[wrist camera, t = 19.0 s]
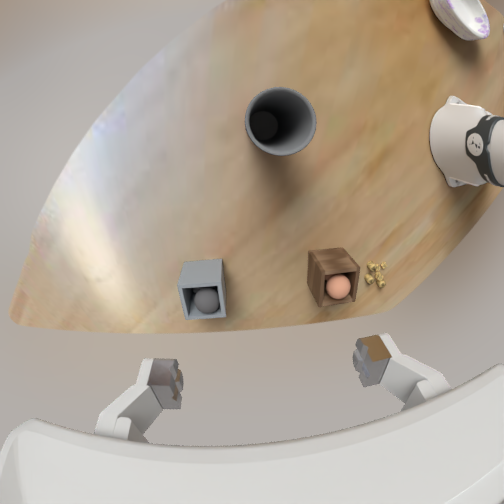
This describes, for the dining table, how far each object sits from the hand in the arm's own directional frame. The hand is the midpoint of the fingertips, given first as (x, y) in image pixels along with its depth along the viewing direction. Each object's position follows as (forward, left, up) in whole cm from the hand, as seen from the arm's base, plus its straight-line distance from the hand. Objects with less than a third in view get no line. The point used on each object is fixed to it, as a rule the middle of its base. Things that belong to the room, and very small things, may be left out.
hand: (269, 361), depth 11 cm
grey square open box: (+7, +14, -33) cm, 36 cm away
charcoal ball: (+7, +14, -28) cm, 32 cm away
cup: (-4, -10, -33) cm, 35 cm away
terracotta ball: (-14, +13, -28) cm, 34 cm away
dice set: (-25, +17, -33) cm, 45 cm away
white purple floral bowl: (-45, -41, -33) cm, 69 cm away
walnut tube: (-14, +14, -33) cm, 38 cm away
